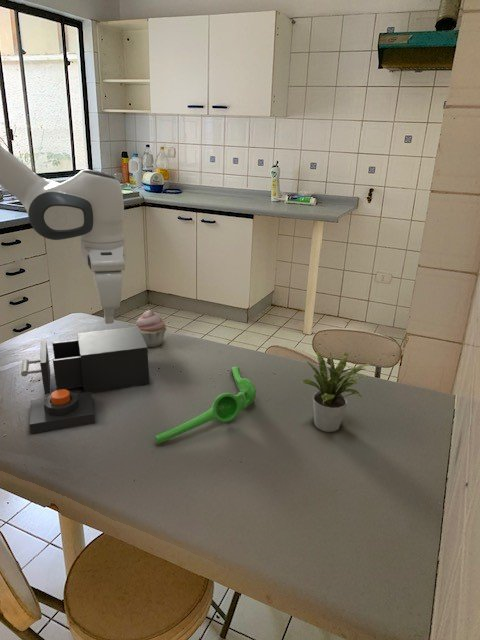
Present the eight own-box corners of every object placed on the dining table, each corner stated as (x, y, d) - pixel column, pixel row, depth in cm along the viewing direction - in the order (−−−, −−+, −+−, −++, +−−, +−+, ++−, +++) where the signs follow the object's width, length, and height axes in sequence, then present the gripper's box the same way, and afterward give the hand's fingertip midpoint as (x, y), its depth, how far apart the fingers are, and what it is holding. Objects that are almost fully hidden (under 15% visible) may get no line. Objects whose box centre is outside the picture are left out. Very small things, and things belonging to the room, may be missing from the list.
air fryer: (84, 393, 104) (80, 355, 100) (81, 368, 115) (77, 332, 111) (149, 383, 109) (147, 347, 105) (140, 360, 120) (138, 326, 116)
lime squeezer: (232, 371, 116) (232, 348, 114) (275, 382, 112) (277, 359, 109) (152, 444, 88) (151, 416, 86) (207, 464, 84) (207, 435, 81)
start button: (51, 407, 92) (50, 399, 92) (51, 398, 95) (50, 390, 95) (70, 404, 94) (69, 396, 93) (70, 395, 97) (69, 387, 96)
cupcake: (162, 351, 125) (161, 317, 121) (129, 348, 126) (127, 314, 122) (172, 337, 134) (171, 305, 130) (141, 334, 135) (139, 302, 131)
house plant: (364, 455, 87) (377, 380, 81) (291, 443, 90) (298, 369, 84) (363, 414, 100) (374, 346, 94) (299, 404, 103) (306, 338, 97)
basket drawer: (23, 397, 100) (17, 365, 97) (25, 373, 110) (20, 343, 107) (108, 385, 106) (105, 354, 103) (103, 363, 116) (100, 334, 113)
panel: (30, 434, 90) (28, 416, 88) (32, 409, 98) (29, 393, 96) (95, 422, 94) (93, 406, 93) (91, 400, 102) (89, 384, 100)
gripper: (84, 241, 104) (88, 299, 109) (91, 265, 86) (95, 333, 91) (113, 241, 106) (115, 298, 111) (126, 264, 88) (128, 330, 94)
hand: (106, 314), depth 101 cm, fingers open, 8 cm apart
